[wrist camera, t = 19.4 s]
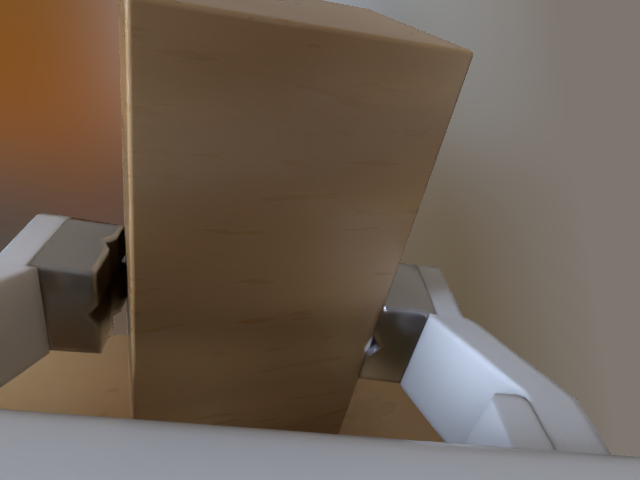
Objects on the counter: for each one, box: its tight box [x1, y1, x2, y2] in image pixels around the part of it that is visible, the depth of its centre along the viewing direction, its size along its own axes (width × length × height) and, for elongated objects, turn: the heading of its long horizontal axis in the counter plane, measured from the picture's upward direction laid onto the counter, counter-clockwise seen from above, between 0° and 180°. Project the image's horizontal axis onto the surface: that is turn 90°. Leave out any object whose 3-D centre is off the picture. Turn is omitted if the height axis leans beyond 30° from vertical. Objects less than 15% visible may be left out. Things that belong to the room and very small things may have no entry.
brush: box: [0, 0, 473, 443], centre depth 9 cm, size 11×5×11 cm, turn 111°
